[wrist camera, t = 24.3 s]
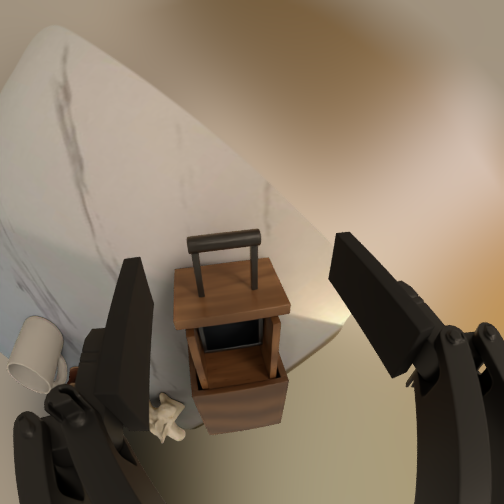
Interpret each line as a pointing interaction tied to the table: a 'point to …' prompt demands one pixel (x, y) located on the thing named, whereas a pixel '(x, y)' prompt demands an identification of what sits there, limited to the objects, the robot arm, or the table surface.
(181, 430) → the bone
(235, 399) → the cabinet
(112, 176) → the table surface
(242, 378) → the drawer
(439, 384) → the robot arm
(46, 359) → the cup
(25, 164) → the table surface
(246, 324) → the tray
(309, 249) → the table surface
